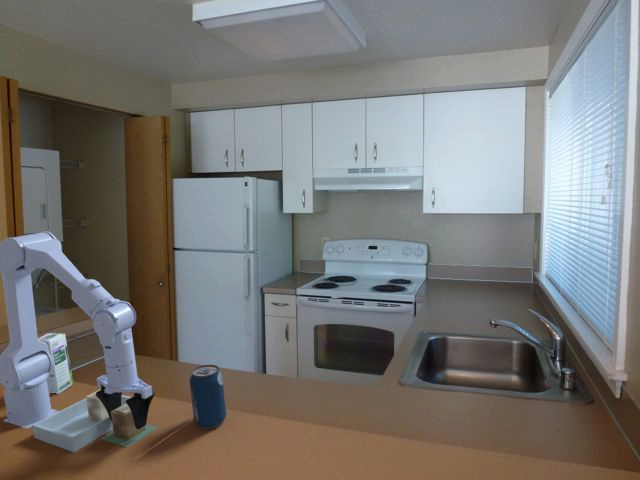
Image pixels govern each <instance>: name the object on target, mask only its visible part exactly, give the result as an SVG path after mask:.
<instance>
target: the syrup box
mask: <svg viewBox="0 0 640 480" xmlns="http://www.w3.org/2000/svg"><path fill="white" fill-rule="evenodd" d="M38 340H39V341H42V342H44V343H46V344H47V345H48V350H49V353H50V355H51V357H52V360H53V366H52V369H51V371H50V372H49V377H47V378H46V379H47V386H48V392H49V393H56V394H55V395H60V394H61V393H62V392H64V391H65V390H67V389H68V388H70V387H72V386H73V385H74V378H73V373H72V367H71V361H70V356H69V354H70V353H69V349H68V344H67V343H68V342H67V337H66V333H63V332H51V333H50V332H49V333H47V332H46V334H44V335H42V336H40V337H38ZM59 393H60V394H59Z"/></svg>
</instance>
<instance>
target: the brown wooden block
mask: <svg viewBox="0 0 640 480" xmlns="http://www.w3.org/2000/svg"><path fill="white" fill-rule="evenodd" d="M111 417H112V424H113V429H112V432H114V436H115V437H119V438H122V439H125V440H128V441H129V440H131V439H132V438H134V437H135V436H137V435H138V434H140V433H141V432H143V431H144V430H145V426H144V427H142V428H141V429H139V430H138V429H136V427H135V424H134V419H133V415H132V412H131V410H130V408H129V406H128V405H127V403H125V404H123V405H122V406H120V407H118V408H116V409H115V410H113V411H111Z"/></svg>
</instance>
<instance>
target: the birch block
mask: <svg viewBox="0 0 640 480" xmlns="http://www.w3.org/2000/svg"><path fill="white" fill-rule="evenodd" d="M100 390H101V388H99V389H98V390H96V391H94V392H92V393H90V394H88V395H86V396H85V398H86V400H87V407H88V414H89V419H90V420H93V421H97V422H99V421H101V420H103V419H105V418H106V417H108V416H109V415H108V413H107V410H106V408H105V407H104V405H103V403H102V402H101V401H100V399H99V398H98V397H97V396H96V392H98V391H100Z"/></svg>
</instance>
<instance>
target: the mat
mask: <svg viewBox="0 0 640 480" xmlns="http://www.w3.org/2000/svg"><path fill="white" fill-rule="evenodd" d="M158 428H159V427H158V426H155V425H151V424H148V423H146V425H145V430H144V431H143V432H141V433H140V434H138V435H137V436H135V437H134V438H132V439H131V440H129V441H128V440H125V439H122V438H119V437H115V436H114V432H113V431H112V432H109V433H108V434H107V435H106V434H105V436H103V437H101V438H100V439H101V440H104V441H107V442H110V443H113V444H117V445H119V446H121V447H124V448H129V447H130V446H132V445H133V444H135V443H137V442H139V441H140V440H141V439H143V438H144V437H146V436H147V435H149V434H150V433H152V432H153V431H155V430H157V429H158Z"/></svg>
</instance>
